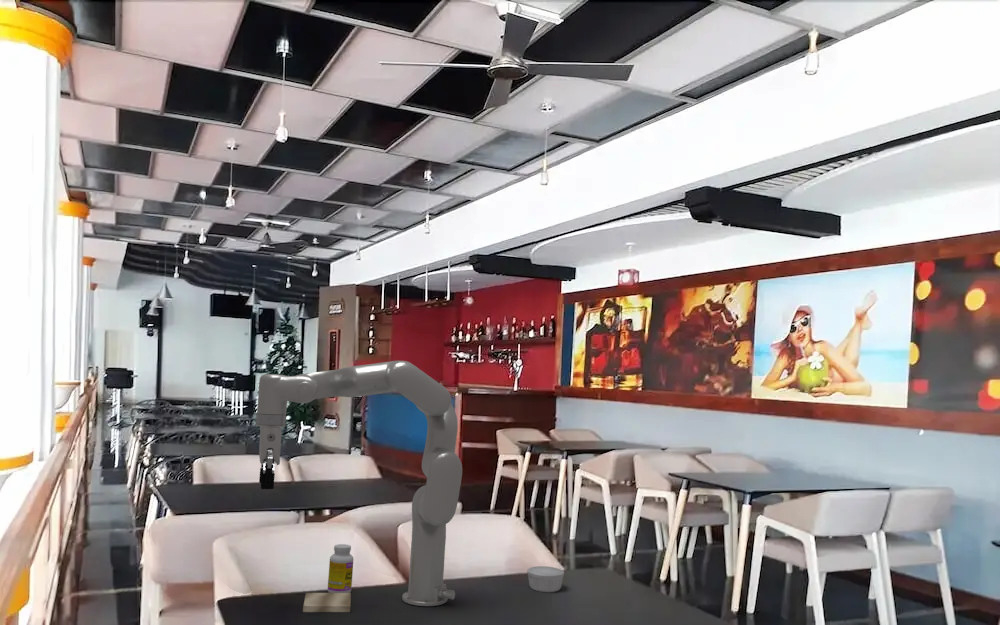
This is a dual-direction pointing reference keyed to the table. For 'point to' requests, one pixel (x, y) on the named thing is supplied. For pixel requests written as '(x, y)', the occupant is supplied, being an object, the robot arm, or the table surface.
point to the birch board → (327, 602)
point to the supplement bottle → (340, 570)
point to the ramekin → (545, 578)
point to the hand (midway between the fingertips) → (266, 486)
